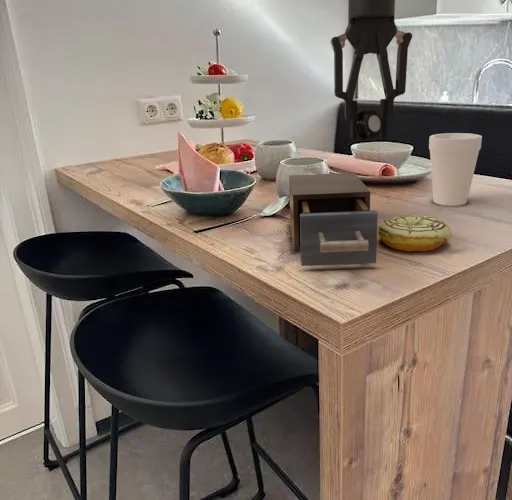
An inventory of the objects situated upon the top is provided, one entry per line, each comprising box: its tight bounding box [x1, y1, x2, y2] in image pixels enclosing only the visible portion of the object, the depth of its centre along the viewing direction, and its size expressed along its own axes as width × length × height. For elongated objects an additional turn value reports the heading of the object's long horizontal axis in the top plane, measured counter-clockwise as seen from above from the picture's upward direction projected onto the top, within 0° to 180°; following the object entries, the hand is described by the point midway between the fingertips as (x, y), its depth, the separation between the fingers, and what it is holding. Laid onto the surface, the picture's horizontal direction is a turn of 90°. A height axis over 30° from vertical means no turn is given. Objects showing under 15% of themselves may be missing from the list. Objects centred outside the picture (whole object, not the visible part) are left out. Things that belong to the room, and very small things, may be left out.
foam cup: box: [428, 132, 483, 207], centre depth 99 cm, size 10×9×13 cm
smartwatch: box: [357, 109, 382, 141], centre depth 89 cm, size 4×5×5 cm
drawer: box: [300, 197, 379, 267], centre depth 72 cm, size 19×10×7 cm, turn 179°
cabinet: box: [288, 172, 371, 252], centre depth 83 cm, size 15×12×9 cm
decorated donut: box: [377, 214, 453, 253], centre depth 79 cm, size 10×11×4 cm
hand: (368, 137), depth 90 cm, fingers closed on smartwatch, 4 cm apart
